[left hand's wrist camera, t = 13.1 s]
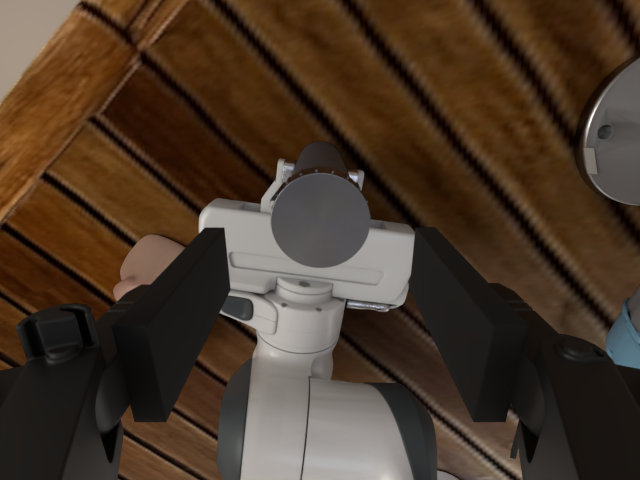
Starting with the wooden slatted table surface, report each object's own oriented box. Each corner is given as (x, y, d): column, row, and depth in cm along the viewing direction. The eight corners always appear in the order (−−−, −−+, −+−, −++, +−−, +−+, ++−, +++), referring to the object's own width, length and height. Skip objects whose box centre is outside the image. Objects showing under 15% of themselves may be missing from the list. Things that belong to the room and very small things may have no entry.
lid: (315, 144, 19) (314, 149, 17) (385, 207, 20) (392, 217, 18) (255, 216, 20) (248, 228, 19) (325, 271, 22) (325, 287, 20)
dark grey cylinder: (317, 131, 36) (315, 157, 18) (351, 161, 37) (382, 215, 19) (288, 166, 37) (259, 224, 19) (322, 194, 38) (324, 275, 20)
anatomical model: (105, 238, 36) (217, 267, 37) (125, 226, 40) (226, 252, 41) (96, 342, 40) (196, 365, 41) (115, 322, 44) (206, 344, 45)
